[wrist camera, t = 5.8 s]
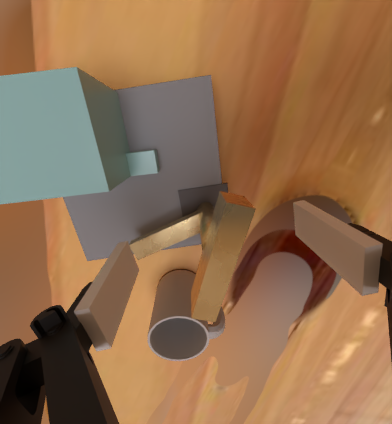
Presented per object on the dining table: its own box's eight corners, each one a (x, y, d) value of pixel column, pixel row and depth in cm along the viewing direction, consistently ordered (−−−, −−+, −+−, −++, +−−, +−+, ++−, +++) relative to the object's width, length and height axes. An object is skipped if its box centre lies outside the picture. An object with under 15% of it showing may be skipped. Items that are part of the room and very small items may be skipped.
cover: (146, 88, 18) (122, 61, 11) (159, 170, 20) (146, 187, 14) (25, 103, 18) (-70, 84, 11) (53, 183, 20) (-11, 205, 14)
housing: (209, 89, 23) (217, 73, 17) (223, 219, 29) (232, 240, 23) (65, 111, 23) (25, 103, 18) (106, 236, 29) (86, 261, 23)
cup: (162, 263, 31) (153, 311, 23) (226, 276, 32) (240, 325, 24) (153, 301, 33) (142, 356, 25) (213, 311, 35) (221, 367, 26)
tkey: (146, 156, 19) (108, 176, 10) (224, 175, 20) (257, 209, 11) (132, 245, 23) (93, 324, 13) (201, 257, 23) (210, 340, 14)
